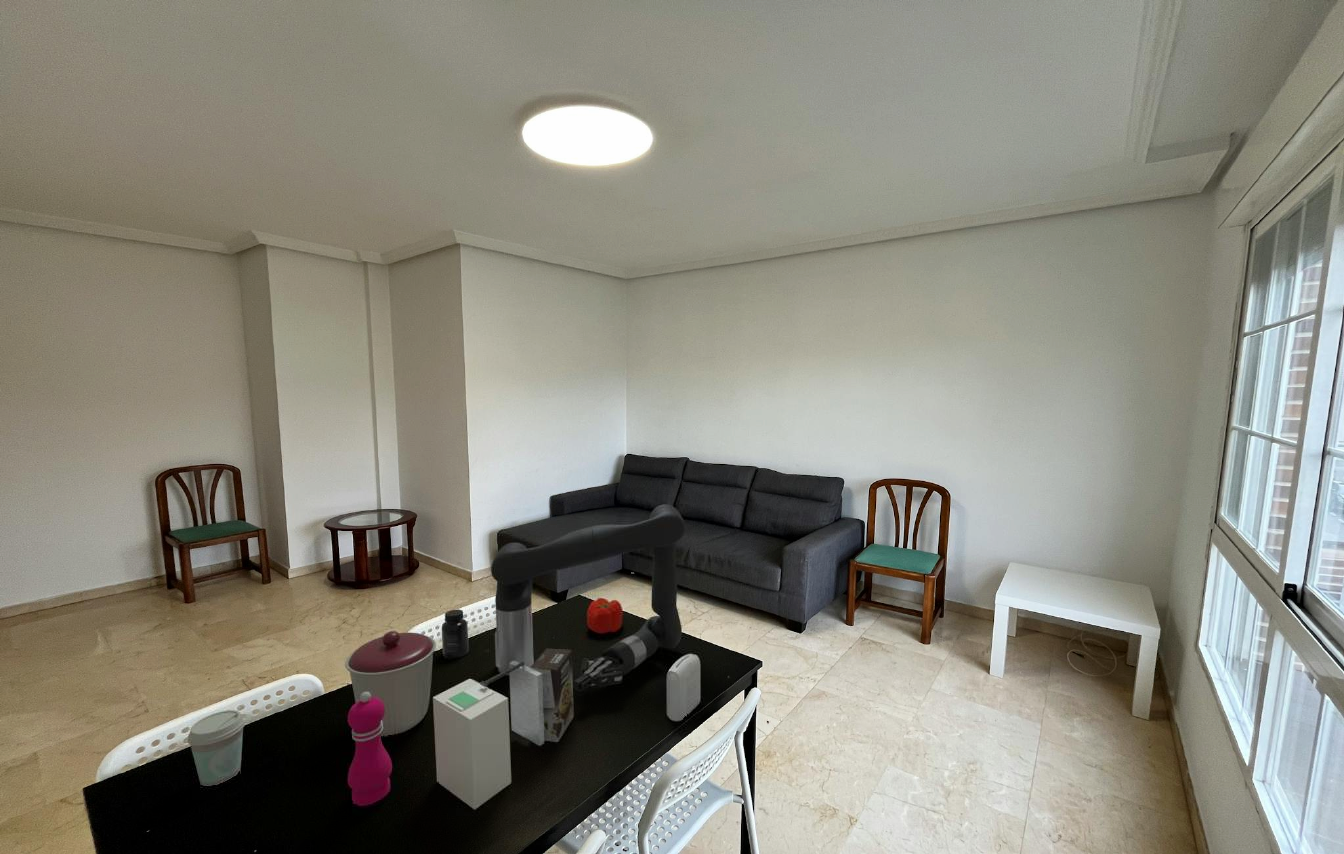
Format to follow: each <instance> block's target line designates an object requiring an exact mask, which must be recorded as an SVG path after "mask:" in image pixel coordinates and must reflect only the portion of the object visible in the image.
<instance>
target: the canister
mask: <svg viewBox="0 0 1344 854" xmlns="http://www.w3.org/2000/svg"><path fill="white" fill-rule="evenodd" d="M436 647H437V643H436V640H435V639H433V637H431V636H429V635H426V634H422V633H418V632H398V631H396V630H395V631H394V630H391V631H388V632H386V633H384V634H383V636H380V637H377V638H374V639H372V640H370V641H368V642H365V643H364V644H362V645H361V646H359V647H358V648H357V649H355V650H353V651H352V652H351V653H350V654H349V655H348V656H347V657H346V660H345V661H344V663H345V664H344V666H345V668H346V670H347V671H348V672H349V675H350V681H351V686H352V689H353V695H354V701H355V703H356V702H358V701H359V700H360V696H361V694H362V693H364V692H369V693H370V694H371V697H376V698H378V699H380V700H381V701H382V702H383V704H384V706H385V714H384V717H383V719H382V722H383V725H382V726H383V730H382V732H381V737H383V736H384V737H389V736H388V735H393V736H395V735H394V734H396V735H398V733H399V734H402V733H405V732H407V731H408V730H411V729H412V728H414V727H415V726H417V725H418V724H419V723H420V722H421V721H423V719H424V718H425V715H427V712H428V709H429V704H430V697H431V686H432V674H433V673H432V671H433V654H434V652H435V651H436Z"/></svg>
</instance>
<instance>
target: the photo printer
mask: <svg viewBox="0 0 1344 854" xmlns="http://www.w3.org/2000/svg"><path fill="white" fill-rule="evenodd" d="M700 703H701V661H700V658H699V656H698V655H696V654H693V653H688V654H685V655H683V656H681V657H679V659H677V660H676V661H675V662H674V663H673V664H672V666H671V667H670V668H669V670H668V672H667V673H666V715H667V717H668V718H669V720H671V721H673V722H680V721H682V720H684V719H685V718H686V717H688V715H690V714H691V712H692V711H693V710H694V709H696V708H697V706H698V705H699V704H700ZM687 714H688V715H687ZM685 716H686V717H685ZM684 717H685V718H684ZM683 718H684V719H683Z"/></svg>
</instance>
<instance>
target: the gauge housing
mask: <svg viewBox="0 0 1344 854" xmlns="http://www.w3.org/2000/svg"><path fill="white" fill-rule="evenodd" d="M432 704H433V705H432V706H433V725H434V726H433V728H434V746H435V747H434V748H435V763H436V765H435V767H436V782H437V783H438V782H439V783H438V784H440V785H441V786H442V787H444V788H445V789H446V790H447V791H449V792H451V794H453V795H454V796H456V797H457V798H458V799H460V800H461V801H462V802H463V803H465V804H467V805H468V806H469V807H470V808H472V809H473V810H476V809H478V808H479V807H480V806H482V805H483V804H485V803H486V802H487V801H488V800H490V799H491V798H492V797H494V796H495V795H497V794H498V793H499V792H501V791H502V790H503V789H505V788H506V787H507V786H509V785H511V784H512V769H511V768H512V767H511V743H510V742H511V741H510V737H511V736H510V718H509V717H510V716H509V713H510V711H509V697H506V696H505V695H503V694H501V693H499V692H497V691H495V690H493V689H492V688H489V687H488V686H487V687H484V686H482V685H480V682H478V681H476V680H474V679H471V678H469V679H466V680H464V681H463V682H461V683H458V684H456V685H455V686H452V687H451V688H448V689H446V690H445V691H443V692H441V693H438V694H436V695H435V696H433V697H432Z"/></svg>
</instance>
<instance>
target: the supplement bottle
mask: <svg viewBox="0 0 1344 854" xmlns="http://www.w3.org/2000/svg"><path fill="white" fill-rule="evenodd" d="M441 643H442V646H441V647H442V655H443V657H444V658H445V659H449V660H454V659H455V660H456V659H459V657H460V658H463V657H465V656H466V655H467V654H468V653H469V650H470V649H469V630H468V621H467V620H466V619H464V611H463V609H458V608H457V609H451V610H450V609H449V611H448V610H447V611H446V612H445V613H444V622H443V624H442V625H441Z"/></svg>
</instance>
